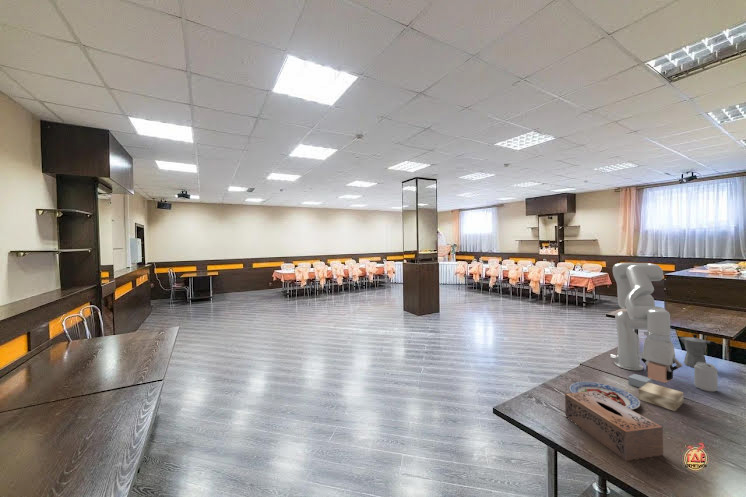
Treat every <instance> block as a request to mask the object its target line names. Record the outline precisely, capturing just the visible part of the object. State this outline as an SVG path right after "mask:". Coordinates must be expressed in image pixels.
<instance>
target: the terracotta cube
mask: <svg viewBox="0 0 746 497" xmlns="http://www.w3.org/2000/svg"><path fill="white" fill-rule="evenodd" d="M667 371H668V369H667V366H666V365H663V364H659V363H655V362H648V374H647V377H648V378H650V379H652V381H653V380H654V381H657V382H661V383H664V384H666V383H668V382H670V381H671V380H667Z"/></svg>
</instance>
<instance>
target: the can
mask: <svg viewBox="0 0 746 497" xmlns="http://www.w3.org/2000/svg"><path fill="white" fill-rule="evenodd" d="M693 369H694V371H693V372H694V377H693V378H694V385H695V387H696V388H698V389H699V390H701V391H705V392H709V393H713V392H716V391H718V390H719V388H718V387H719V386H718V383H719V382H718V379H719V378H718V369H717V368H716V366H715V365H714V364H712V363H709V362H708V363H707V362H706V363H703V362H697V363H696V365H695V366H694V368H693Z"/></svg>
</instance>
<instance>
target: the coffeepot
mask: <svg viewBox="0 0 746 497" xmlns="http://www.w3.org/2000/svg"><path fill="white" fill-rule="evenodd" d="M692 336H693V337H691V336H690V337H689V336H687V337H685V336H684V337H683V336H682V337H678V339H680V341H681V342H682V344H683V345H684V348H685V350H686V352H685V356H684V361H683V364H684V365H686V367H689V366H690V367H689V368H693V369H694V366H695V365H696V363H697V362H703V363H707V360H706V357H705V354H704V353H706V349H707V345H710V346H713V347H712V350H711V353H707V356H709V357H714V356H715V353H716V352H717V350H718V349H719V344H718V343H717V342H715V341H711V340H705V339H702V338H699V337H698V335H697V334H696V333H695V334H692Z"/></svg>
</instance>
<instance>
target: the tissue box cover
mask: <svg viewBox="0 0 746 497" xmlns="http://www.w3.org/2000/svg"><path fill="white" fill-rule="evenodd" d="M564 400H565V402H564V403H565V407H564V408H565V415H566V416H567V417H568V418H569V419H570V420H572V421H573V422H574V423H576V424H577V425H578V426H577V425H576V424H575V425H576V426H577V427H579V428H580V427H581V428H582V429H581V428H580V429H581V430H583V431H584V430H585V431H584V432H586V433H587V434H588V435H590V436H591V437H593V438H594V439H595V440H597V441H598V442H599V443H600V444H602V445H603V446H605V447H607V448H608V449H609V450H610V451H612V452H614V453H615V454H616V455H617V454H618V457H620V456H621V457H620V458H621V459H623V460H624V459H625V460H624V461H627V460H628V461H633V460H632V459H635V460H640V459H639V458H642V459H645V458H644V457H649V458H652V457H651V456H655V457H662V456H664V435H663V434H664V428H663V426H662V425H660V424H658V423H656V422H654V421H652V420H651V419H649V418H647V417H645V416H643V415H642V414H640V413H638V412H636V411H634V410H631V409H629V408H627V407H625V406H623V405H621V404H620V403H618V402H616V401H614V400H612V399H610V398H608V397H607V396H605V395H603V394H601V393H599V392H597V391H587V392H578V393H572V392H571V393H570V392H569V393H565V394H564ZM565 415H564V416H565ZM569 419H568V420H569ZM570 420H569V421H570ZM572 421H571V422H572ZM573 422H572V423H573ZM574 423H573V424H574ZM661 455H662V456H661Z"/></svg>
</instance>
